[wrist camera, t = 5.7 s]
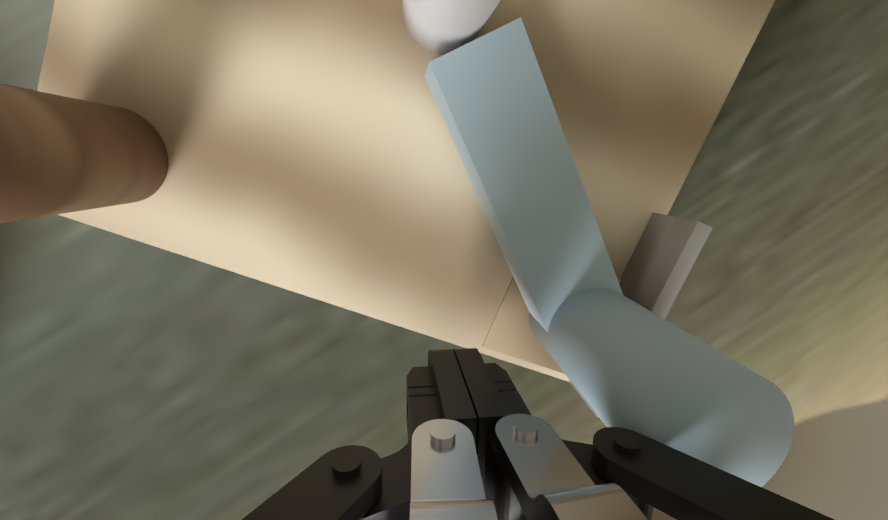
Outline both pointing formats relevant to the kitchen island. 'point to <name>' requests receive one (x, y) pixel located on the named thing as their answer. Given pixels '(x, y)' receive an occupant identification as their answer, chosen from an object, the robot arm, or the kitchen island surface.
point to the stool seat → (364, 146)
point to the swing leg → (583, 257)
